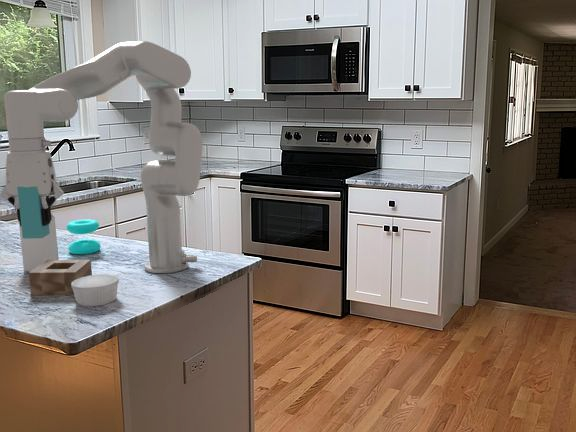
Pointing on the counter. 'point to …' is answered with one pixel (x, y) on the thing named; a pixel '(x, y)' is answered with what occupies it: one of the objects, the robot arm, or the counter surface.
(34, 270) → the socket block
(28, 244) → the milk carton
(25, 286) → the counter surface
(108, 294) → the ramekin
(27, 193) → the peg
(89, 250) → the teal stacked rings
